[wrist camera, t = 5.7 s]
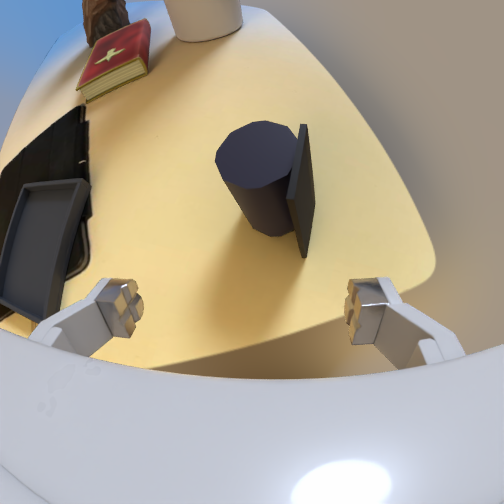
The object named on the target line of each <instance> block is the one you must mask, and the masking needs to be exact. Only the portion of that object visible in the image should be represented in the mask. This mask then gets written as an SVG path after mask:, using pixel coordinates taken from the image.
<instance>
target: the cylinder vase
mask: <svg viewBox="0 0 504 504" xmlns="http://www.w3.org/2000/svg"><path fill="white" fill-rule="evenodd" d="M164 2H165V5H166V8H167V11H168V14H169V17H170V19H171V22H172V25H173V28H174V31H175V34H176V36H177V37H178V38H179V39H180V40H182V41H186V42H201V41H208V40H212V39H216V38H220V37H223V36H226V35H228V34H230V33H232V32H234V31H236V30H237V29H238V28H239V27H240V26H241V25H242V23H243V17H242V11H241V5H240V0H164Z"/></svg>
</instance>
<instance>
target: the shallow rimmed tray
mask: <svg viewBox="0 0 504 504" xmlns="http://www.w3.org/2000/svg"><path fill="white" fill-rule="evenodd" d="M90 189H91V185H90V184H89V183H87V182H86V181H85V180H84V179H83V178H77V179H66V180H55V181H46V182H37V183H29V184H24V185H23V188H22V190H21V192H20V195H19V198H18V200H17V203H16V206H15V209H14V212H13V215H12V218H11V221H10V224H9V227H8V231H7V234H6V238H5V241H4V245H3V249H2V253H1V258H0V303H1V304H3V305H4V306H6V307H8V308H10V309H11V310H13V311H15V312H17V313H19V314H20V315H22V316H24V317H26V318H28V319H30V320H32V321H34V322H36V323H38V324H39V323H40V322H41V321H43V320H45V319H47V318H49V317H50V316H52V315H54V314H56V313H58V312H59V310H60V304H61V297H62V292H63V286H64V281H65V276H66V272H67V267H68V263H69V258H70V254H71V250H72V246H73V243H74V239H75V235H76V232H77V228H78V225H79V222H80V219H81V215H82V212H83V209H84V206H85V203H86V200H87V198H88V195H89V192H90Z"/></svg>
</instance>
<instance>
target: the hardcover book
mask: <svg viewBox="0 0 504 504" xmlns="http://www.w3.org/2000/svg"><path fill="white" fill-rule="evenodd" d="M150 34H151V27H150V24H149V22H148V20H147V19H146V18H144V19H142V20H139V21H137V22H135V23H132V24H130V25H128V26H125V27H123V28H121V29H119V30H117V31H115V32H113V33H110V34H108V35H106V36H105V37H103V38H101V39H99V40H97V41H96V43H95V45H94V47H93V49H92V51H91V53H90V56H89V58H88V60H87V62H86V65H85V67H84V69H83V72H82V74H81V77H80V79H79V82H78V84H77V87H76V91H78V90H79V89H80V91H81V92H82V93H83V95H84V96H85V97H86V104H88V103H89V102H91V101H93V100H95V99H97V98H99V97H101V96H103V95H104V94H106V93H108V92H110V91H112V90H115V89H117V88H119V87H121V86H123V85H125V84H127V83H130V82H132V81H134V80H136V79H139V78H141V77H144V76H146V75H147V73H148V56H149V44H150Z"/></svg>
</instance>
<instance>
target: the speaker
mask: <svg viewBox="0 0 504 504" xmlns="http://www.w3.org/2000/svg"><path fill="white" fill-rule="evenodd" d="M215 163H216V165H217V167H218V170H219V172H220V174H221V177H222V179H223V181H224V182H225V184H226V186H227V187H228V189H229V190H230V192H231V194H232V195H233V197H234V198H235V200H236V202H237V203H238V205H239V206H240V208H241V210H242V211H243V213H244V215H245V216H246V218H247V219H248V221H249V223H250V224H251V226H252V228H253V229H255V230H257V231H260V232H262V233H264V234H266V235H268V236H270V237H279V236H282V235H285V234H287V233H289V232H291V231H293V230H295V233H296V237H297V241H298V244H299V248H300V252H301V256H302V258H307V252H308V246H309V240H310V234H311V228H312V222H313V216H314V209H315V192H314V181H313V171H312V162H311V153H310V144H309V136H308V128H307V124H300V129H299V134H298V140H297V138H296V137H295V136H294V134H293V133H292V132H291V130H290V129H289V128H288V126H284V125H280V124H277V123H273V122H269V121H257V122H252V123H250V124H247V125H245V126H243V127H241V128H239V129H237V130H235V131H233V132H231V133H230V134H229V135H228V137H227V138H226V139H225V141H224V142H223V143H222V145H221V146H220V147H219V149H218V150H217V152H216V158H215Z"/></svg>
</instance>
